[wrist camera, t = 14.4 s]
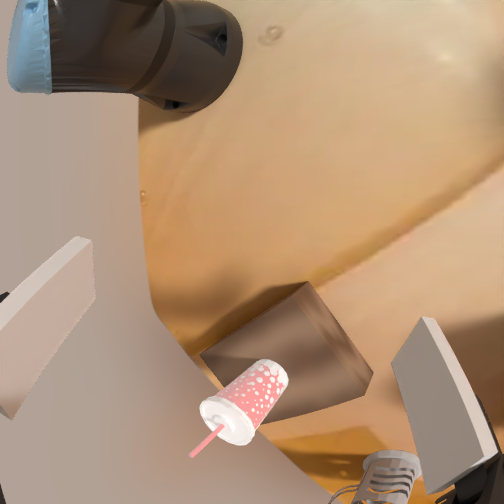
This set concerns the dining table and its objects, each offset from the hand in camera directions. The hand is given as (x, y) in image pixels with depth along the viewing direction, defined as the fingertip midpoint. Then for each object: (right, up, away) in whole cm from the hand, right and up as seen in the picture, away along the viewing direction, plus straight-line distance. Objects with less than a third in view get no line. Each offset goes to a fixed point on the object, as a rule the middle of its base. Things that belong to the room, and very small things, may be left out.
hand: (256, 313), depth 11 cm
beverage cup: (+2, -12, +22) cm, 25 cm away
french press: (+20, -29, +21) cm, 41 cm away
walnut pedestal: (+4, -11, +25) cm, 28 cm away
